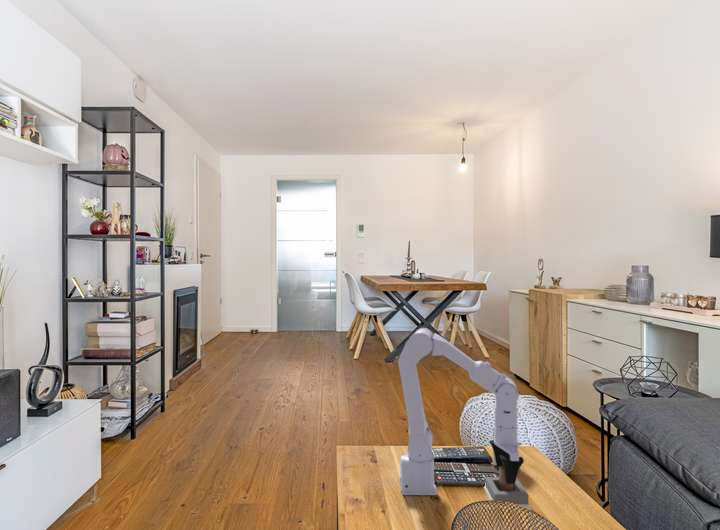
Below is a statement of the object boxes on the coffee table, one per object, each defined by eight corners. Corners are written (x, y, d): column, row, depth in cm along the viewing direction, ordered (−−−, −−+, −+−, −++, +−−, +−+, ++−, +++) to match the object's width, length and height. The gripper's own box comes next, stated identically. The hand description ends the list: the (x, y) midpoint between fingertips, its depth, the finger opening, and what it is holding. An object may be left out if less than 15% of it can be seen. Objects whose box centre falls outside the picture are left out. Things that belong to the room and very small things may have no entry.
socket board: (495, 511, 107) (495, 498, 107) (483, 486, 119) (483, 474, 119) (531, 512, 107) (531, 498, 107) (515, 486, 119) (515, 474, 119)
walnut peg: (501, 498, 111) (501, 472, 111) (497, 491, 115) (497, 465, 115) (515, 498, 111) (515, 472, 111) (510, 491, 115) (510, 465, 115)
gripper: (531, 436, 106) (531, 490, 106) (511, 414, 120) (511, 462, 120) (502, 435, 106) (502, 490, 106) (486, 414, 120) (486, 462, 120)
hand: (505, 475), depth 113 cm, fingers open, 7 cm apart
